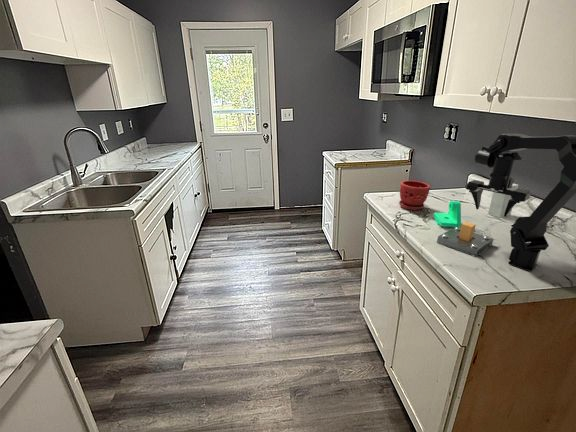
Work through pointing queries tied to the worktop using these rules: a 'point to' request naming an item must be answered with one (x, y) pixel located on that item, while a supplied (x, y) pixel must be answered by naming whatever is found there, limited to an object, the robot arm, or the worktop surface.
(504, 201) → the skincare box
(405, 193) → the plant pot
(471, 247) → the grey square hole plate
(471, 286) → the worktop surface
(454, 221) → the camera mount
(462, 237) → the tan square peg
